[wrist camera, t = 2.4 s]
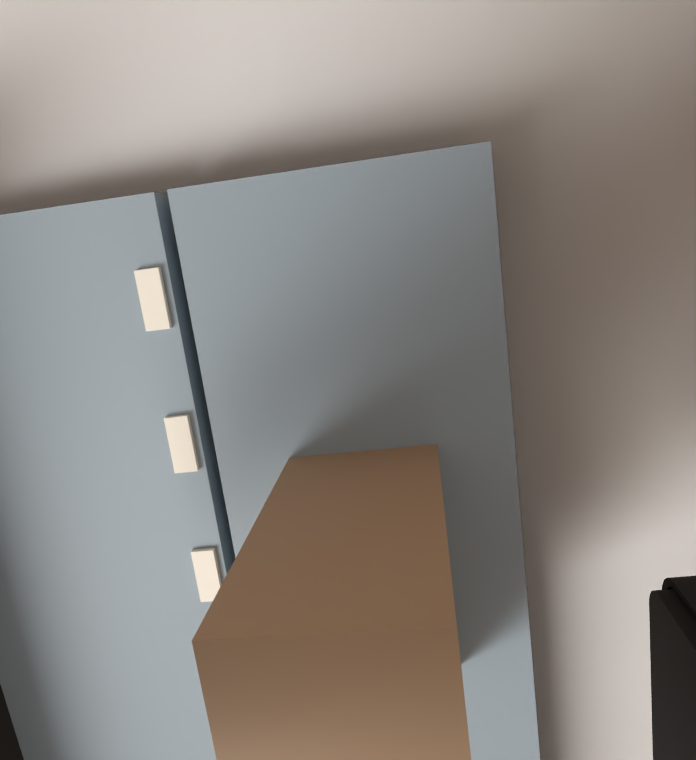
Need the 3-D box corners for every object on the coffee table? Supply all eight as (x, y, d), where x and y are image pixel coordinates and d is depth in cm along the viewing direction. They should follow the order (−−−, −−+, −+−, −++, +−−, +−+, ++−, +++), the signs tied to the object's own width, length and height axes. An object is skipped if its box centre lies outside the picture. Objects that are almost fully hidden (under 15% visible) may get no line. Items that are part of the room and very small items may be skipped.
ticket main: (171, 169, 13) (86, 151, 10) (294, 840, 17) (263, 998, 14) (-214, 228, 15) (-411, 230, 11) (-20, 846, 18) (-122, 993, 15)
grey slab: (484, 148, 13) (571, 55, 6) (539, 823, 16) (634, 1279, 9) (187, 192, 13) (-58, 157, 6) (302, 828, 17) (224, 1253, 10)
